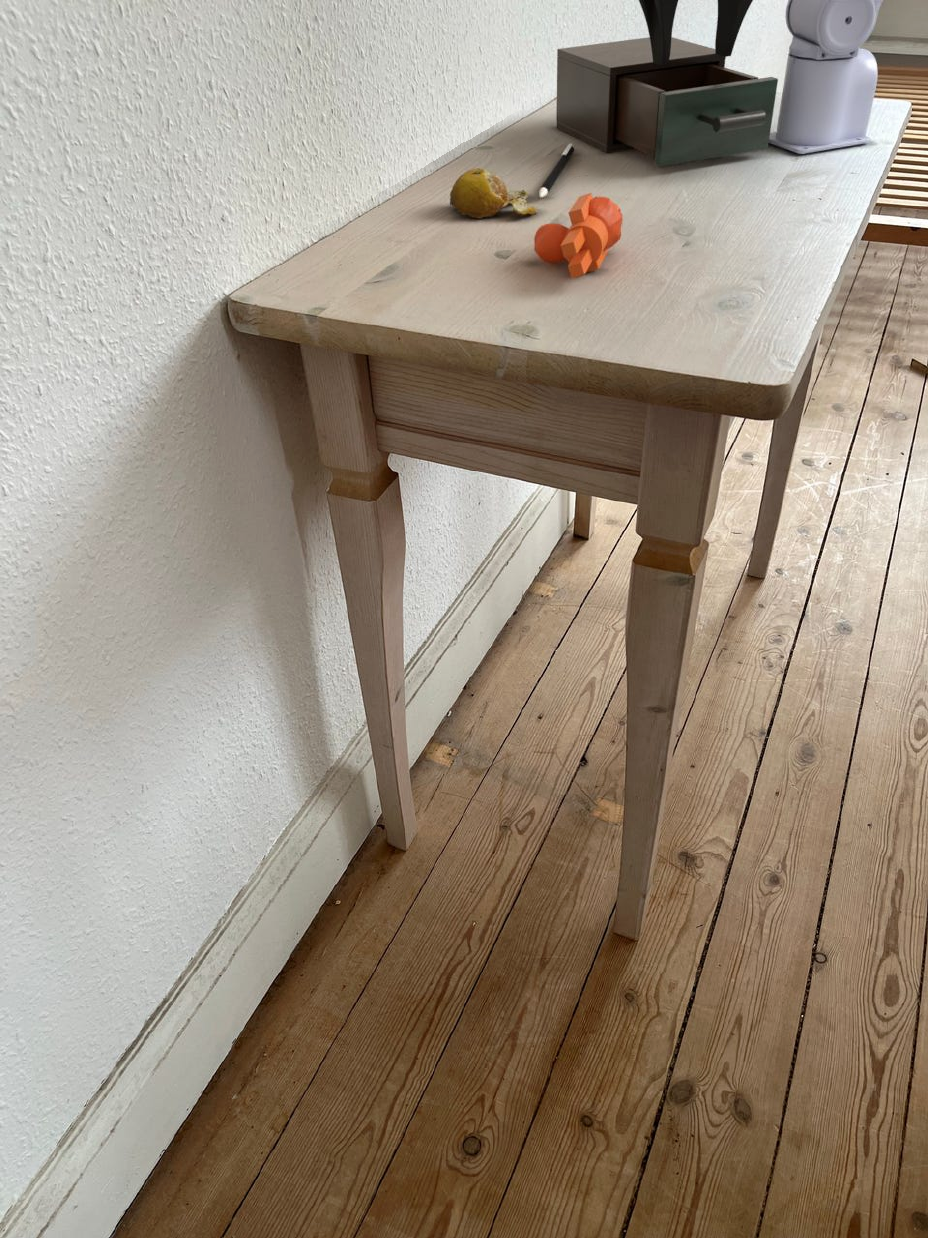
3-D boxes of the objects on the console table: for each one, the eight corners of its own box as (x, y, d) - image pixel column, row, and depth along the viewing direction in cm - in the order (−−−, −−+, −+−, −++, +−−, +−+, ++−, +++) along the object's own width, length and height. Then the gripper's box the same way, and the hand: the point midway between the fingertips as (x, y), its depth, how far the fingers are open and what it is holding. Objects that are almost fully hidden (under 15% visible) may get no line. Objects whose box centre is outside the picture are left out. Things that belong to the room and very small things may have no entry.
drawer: (791, 158, 99) (803, 85, 95) (680, 176, 96) (688, 102, 92) (706, 124, 111) (713, 59, 107) (605, 140, 108) (608, 73, 104)
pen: (576, 150, 108) (576, 139, 108) (544, 201, 94) (544, 189, 94) (568, 150, 108) (569, 139, 108) (535, 201, 95) (535, 189, 94)
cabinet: (716, 135, 111) (726, 51, 105) (606, 153, 107) (610, 67, 102) (659, 112, 121) (665, 34, 115) (556, 128, 117) (557, 48, 112)
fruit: (540, 218, 91) (540, 178, 88) (456, 226, 90) (453, 186, 88) (524, 193, 97) (524, 155, 95) (445, 201, 96) (443, 162, 94)
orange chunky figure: (595, 218, 72) (622, 174, 81) (507, 245, 76) (542, 200, 84) (612, 281, 75) (637, 232, 84) (527, 305, 78) (558, 255, 87)
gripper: (747, -109, 96) (730, 45, 105) (620, -97, 92) (613, 61, 101) (789, -107, 91) (767, 55, 99) (656, -94, 87) (645, 72, 96)
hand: (692, 59), depth 100 cm, fingers open, 7 cm apart
